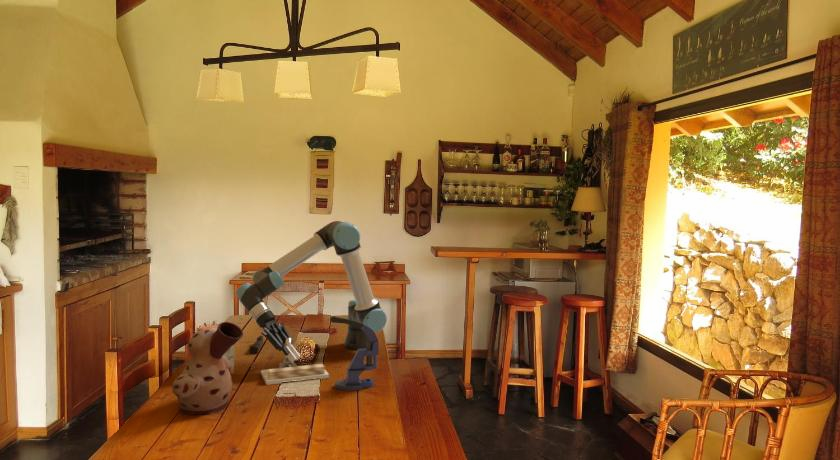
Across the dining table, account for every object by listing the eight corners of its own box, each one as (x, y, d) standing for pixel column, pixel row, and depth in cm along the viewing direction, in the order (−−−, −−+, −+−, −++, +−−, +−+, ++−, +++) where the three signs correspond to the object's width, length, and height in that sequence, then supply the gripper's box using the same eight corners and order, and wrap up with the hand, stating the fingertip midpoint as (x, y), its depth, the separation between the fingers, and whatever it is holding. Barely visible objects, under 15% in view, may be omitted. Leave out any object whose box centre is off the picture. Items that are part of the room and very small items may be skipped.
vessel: (196, 391, 214) (196, 312, 212) (255, 393, 214) (255, 314, 212) (159, 422, 186) (158, 331, 183) (226, 424, 185) (227, 333, 183)
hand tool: (257, 354, 263) (257, 345, 263) (249, 354, 263) (249, 344, 263) (267, 343, 282) (267, 334, 282) (259, 343, 282) (259, 334, 282)
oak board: (322, 370, 237) (322, 363, 237) (324, 373, 233) (324, 366, 233) (268, 376, 228) (268, 369, 228) (269, 379, 224) (269, 372, 224)
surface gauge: (293, 366, 240) (294, 335, 239) (297, 371, 233) (298, 340, 232) (279, 367, 238) (279, 336, 237) (282, 373, 230) (283, 341, 230)
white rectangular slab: (320, 367, 246) (320, 364, 246) (329, 378, 233) (329, 374, 233) (260, 373, 236) (261, 370, 236) (266, 385, 223) (266, 381, 223)
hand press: (375, 381, 230) (377, 313, 228) (379, 388, 222) (380, 317, 220) (328, 383, 226) (329, 314, 224) (330, 391, 217) (331, 319, 215)
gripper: (268, 317, 248) (300, 359, 243) (245, 324, 233) (279, 370, 229) (279, 306, 246) (311, 349, 241) (256, 313, 231) (290, 358, 226)
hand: (296, 359), depth 235 cm, fingers closed on surface gauge, 2 cm apart
